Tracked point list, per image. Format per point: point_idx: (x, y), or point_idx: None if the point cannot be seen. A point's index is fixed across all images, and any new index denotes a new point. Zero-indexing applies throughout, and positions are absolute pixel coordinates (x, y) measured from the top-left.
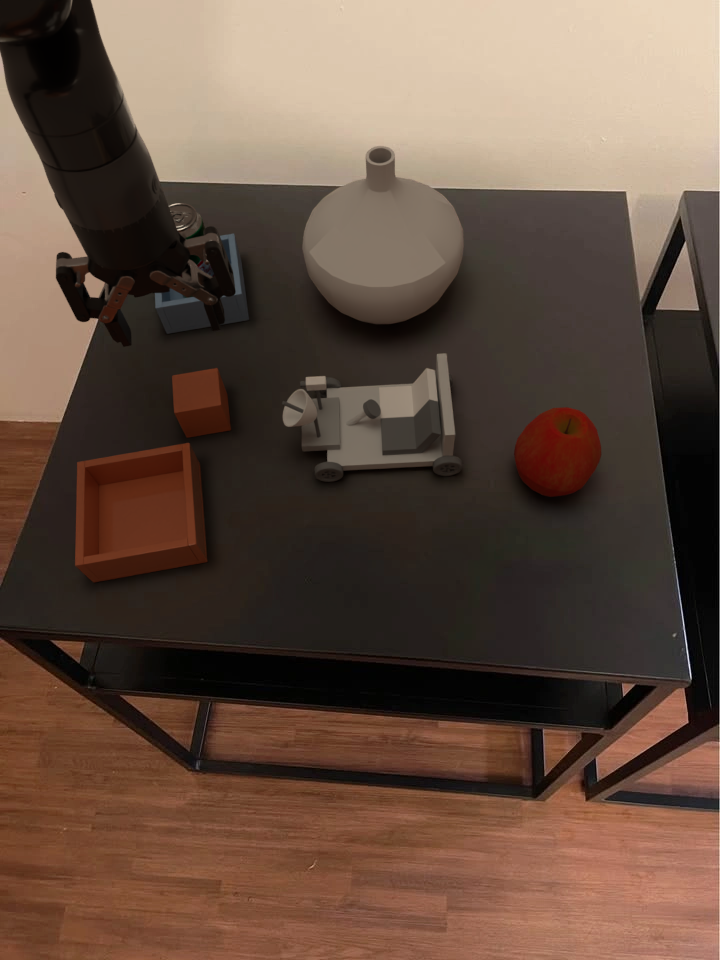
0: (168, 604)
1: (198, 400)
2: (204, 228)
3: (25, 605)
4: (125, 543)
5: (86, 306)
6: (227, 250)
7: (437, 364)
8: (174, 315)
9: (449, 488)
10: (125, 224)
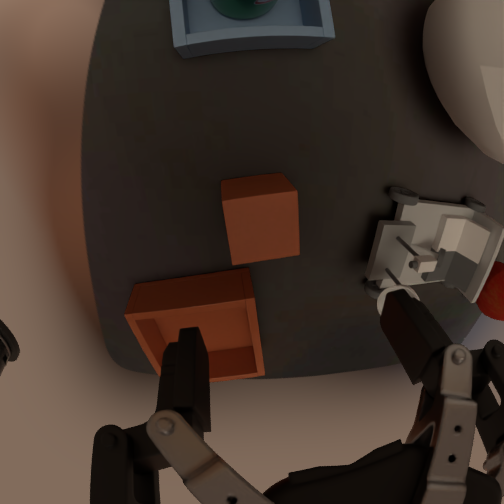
0: None
1: (267, 247)
2: None
3: (125, 363)
4: None
5: (155, 484)
6: None
7: (497, 235)
8: (204, 47)
9: (438, 284)
10: None
